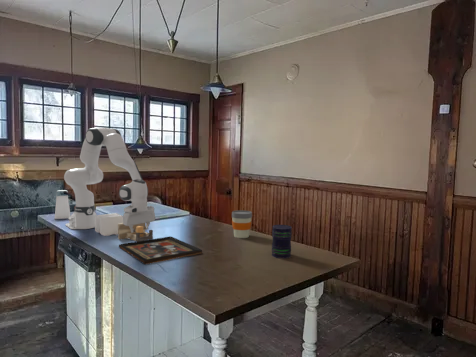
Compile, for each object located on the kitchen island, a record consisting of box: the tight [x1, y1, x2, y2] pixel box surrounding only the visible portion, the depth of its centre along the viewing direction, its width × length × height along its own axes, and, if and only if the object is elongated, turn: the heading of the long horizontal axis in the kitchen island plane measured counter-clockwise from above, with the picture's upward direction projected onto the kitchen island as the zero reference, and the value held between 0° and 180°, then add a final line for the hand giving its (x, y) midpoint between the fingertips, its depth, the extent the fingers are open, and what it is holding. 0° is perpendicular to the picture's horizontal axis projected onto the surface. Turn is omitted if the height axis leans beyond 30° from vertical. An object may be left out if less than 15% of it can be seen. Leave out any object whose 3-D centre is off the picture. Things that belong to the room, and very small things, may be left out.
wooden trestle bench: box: [117, 223, 154, 242], centre depth 210 cm, size 14×18×9 cm
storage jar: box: [271, 224, 293, 259], centre depth 182 cm, size 10×10×15 cm
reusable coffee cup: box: [231, 209, 253, 239], centre depth 219 cm, size 13×13×15 cm
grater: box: [54, 189, 72, 220], centre depth 265 cm, size 10×10×20 cm
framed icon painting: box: [118, 236, 203, 265], centre depth 188 cm, size 38×35×3 cm
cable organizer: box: [94, 213, 123, 237], centre depth 220 cm, size 15×11×12 cm
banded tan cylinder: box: [136, 226, 144, 237], centre depth 210 cm, size 4×4×7 cm
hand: (139, 230), depth 209 cm, fingers open, 8 cm apart
